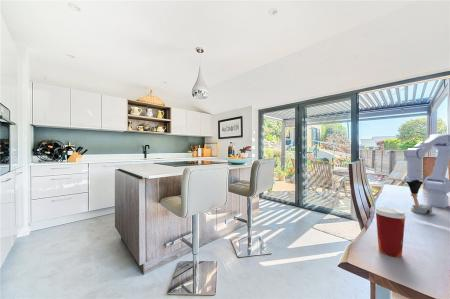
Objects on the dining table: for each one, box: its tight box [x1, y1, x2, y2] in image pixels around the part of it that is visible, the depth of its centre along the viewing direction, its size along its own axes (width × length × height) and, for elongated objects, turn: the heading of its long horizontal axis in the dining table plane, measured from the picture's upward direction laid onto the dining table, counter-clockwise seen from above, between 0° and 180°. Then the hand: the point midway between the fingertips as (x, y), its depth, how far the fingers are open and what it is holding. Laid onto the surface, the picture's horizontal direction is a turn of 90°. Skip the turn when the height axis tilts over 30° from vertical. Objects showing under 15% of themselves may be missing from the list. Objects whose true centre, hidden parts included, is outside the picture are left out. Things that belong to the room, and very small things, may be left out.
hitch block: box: [413, 204, 433, 216], centre depth 93 cm, size 8×4×4 cm, turn 112°
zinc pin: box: [410, 206, 434, 216], centre depth 93 cm, size 5×7×3 cm, turn 22°
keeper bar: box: [410, 193, 420, 205], centre depth 101 cm, size 10×2×1 cm
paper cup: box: [374, 206, 407, 258], centre depth 59 cm, size 8×8×14 cm
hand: (414, 193), depth 100 cm, fingers closed
